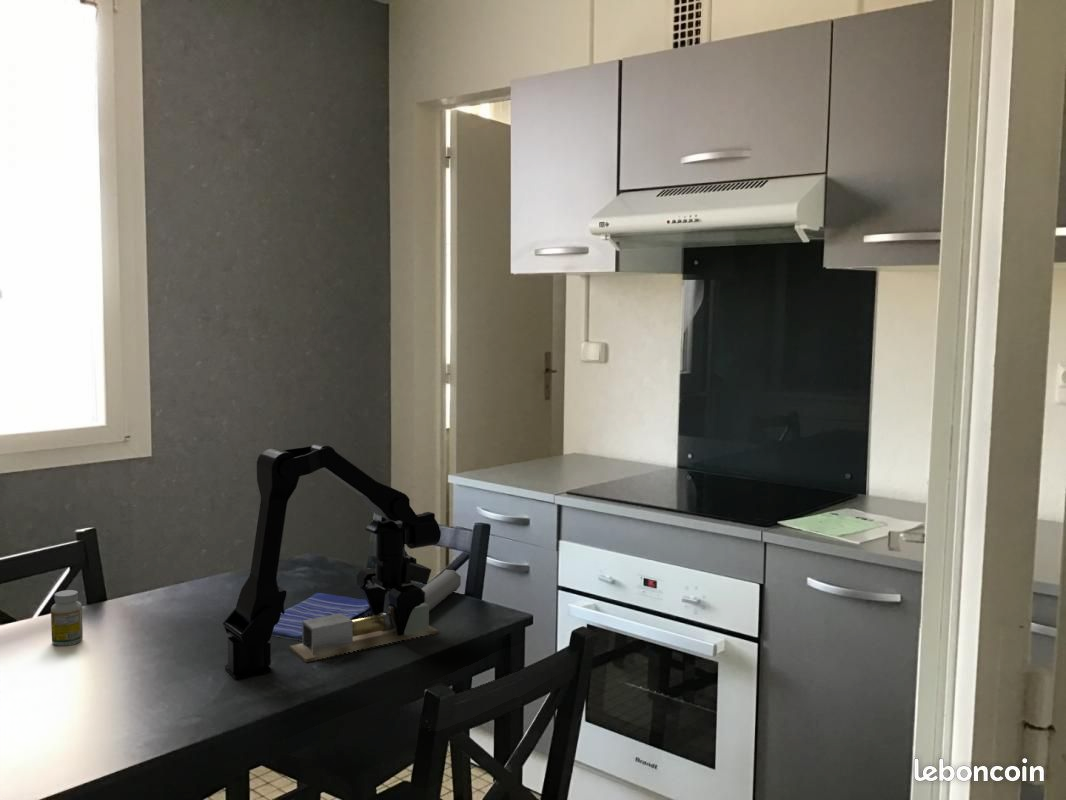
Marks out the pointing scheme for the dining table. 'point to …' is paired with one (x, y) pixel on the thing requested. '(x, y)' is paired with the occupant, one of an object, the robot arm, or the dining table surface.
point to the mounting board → (359, 643)
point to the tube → (441, 587)
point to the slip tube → (373, 624)
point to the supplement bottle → (66, 619)
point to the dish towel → (318, 613)
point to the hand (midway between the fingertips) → (389, 628)
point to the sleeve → (327, 633)
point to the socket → (418, 620)
